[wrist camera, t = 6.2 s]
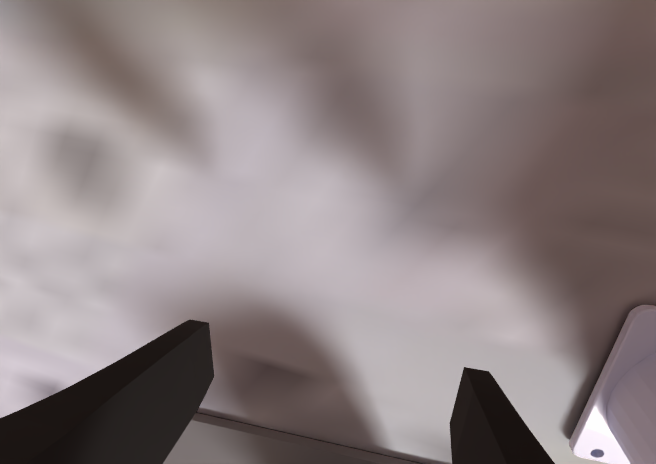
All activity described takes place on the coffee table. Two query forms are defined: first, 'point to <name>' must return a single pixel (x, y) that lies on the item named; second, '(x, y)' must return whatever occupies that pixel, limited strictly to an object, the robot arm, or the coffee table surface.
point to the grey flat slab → (260, 446)
